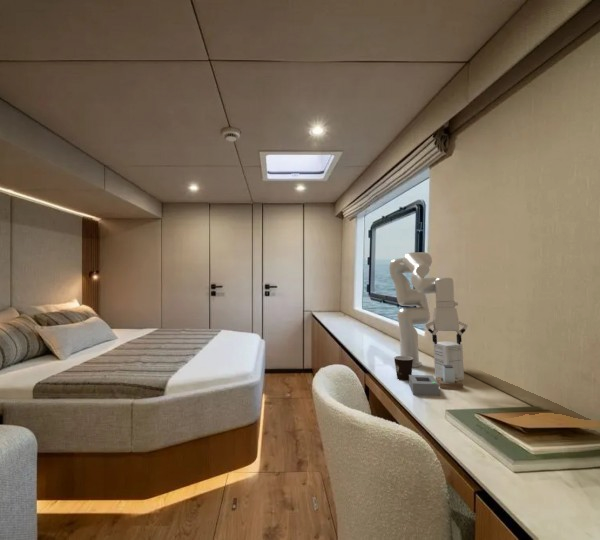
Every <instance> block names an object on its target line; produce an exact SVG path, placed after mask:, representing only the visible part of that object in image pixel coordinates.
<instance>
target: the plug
mask: <svg viewBox="0 0 600 540" xmlns="http://www.w3.org/2000/svg"><path fill="white" fill-rule="evenodd" d="M442 371H443V382H444V383H455V375H454V368H453V366H452V365H443V366H442Z"/></svg>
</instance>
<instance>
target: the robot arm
mask: <svg viewBox="0 0 600 540" xmlns="http://www.w3.org/2000/svg"><path fill="white" fill-rule="evenodd" d="M432 263H433V259H432V256H431V255H430V254H429V253H428V252H422V251H421V252H419V251H418V252H413V251H412V252H408V253H406V254H405V255H404V256H403V257H402V258H401V257H400V258H394V259H392V260H391V261H390V262H389V265H388V266H389V267H388V269H389V270H388V271H389V274H390V277H391V279H392V281H393V284H394V289H395V296H396V301H397V303H398V305H400V306H402V307H403V308H400V309H399V310H398V311H397V315H396V316H397V322H398V328H399V345H400V346H399V348H400V356H409V357H412V358H413V364H412V368H420V367H422V365H423V363H422V362H421V361H420V360H419V334H418V331H417V329H416V328H415V326H416V325H417V326H418V325H424V326H425V328H426V329H427V331H428V332H429V333H430V334H432V335H431V336H432V337H431V338H432V342H433V344H434V343H435V344H437V342H438V339H437V338H438V336H437V333H438V332H456V343H458V344H461V343H462V341H463V340H462V336H463V334H464V333H465V332H466V330H467V328H468V324H466V323H464V322H463V321H460V319H459V314H458V311H457V308H456V306H459V302H457V301H455V292H454V291H455V288H454V279H453V278H452V277H440V276H439V277H427V275H429V273H430V267H431V265H432ZM404 274H411V275H410V276H411V277H410V280H409V279H408V277H407V276H406V275H404ZM410 282H411V284H410ZM411 285H412V287H413V288H411ZM428 294H435V307H434V308H433V316H432V317H433V318H432V320H431V321H430V319H431V314H430V310H429V306H428V305H429V304H428V300H427V295H428ZM410 306H411V307H410ZM414 306H415V307H414ZM431 326H432V327H433V329H432V328H431ZM460 326H462V328H461V329H460Z"/></svg>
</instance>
